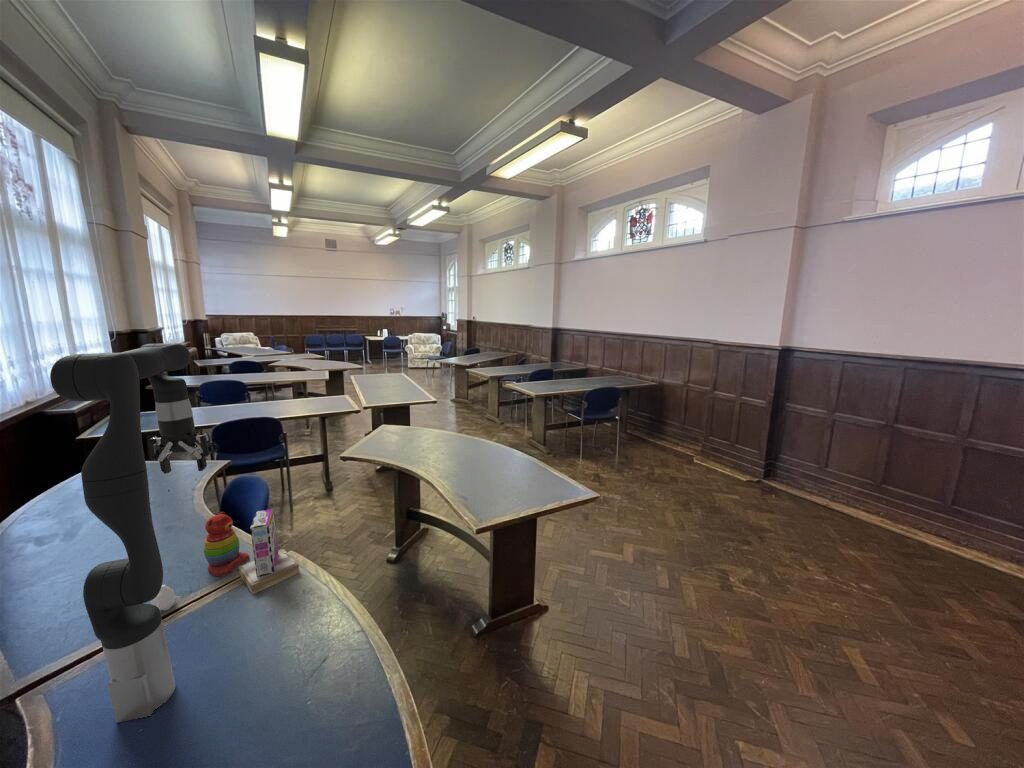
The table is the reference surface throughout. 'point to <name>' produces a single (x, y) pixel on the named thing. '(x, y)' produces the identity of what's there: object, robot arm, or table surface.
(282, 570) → the tray
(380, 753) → the table surface
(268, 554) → the candy bar box
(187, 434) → the robot arm
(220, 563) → the stacking bear
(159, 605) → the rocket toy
